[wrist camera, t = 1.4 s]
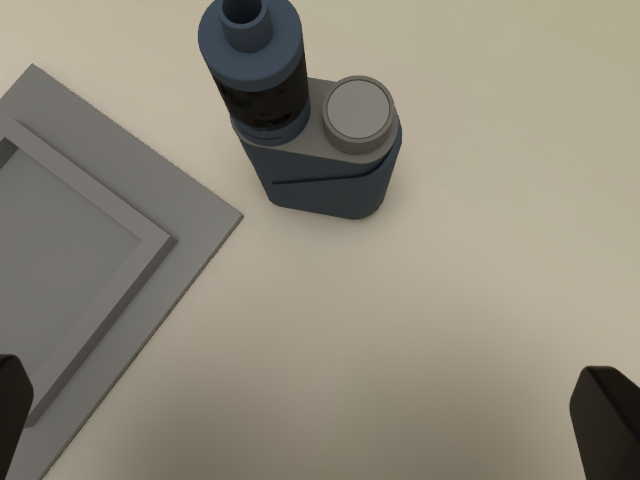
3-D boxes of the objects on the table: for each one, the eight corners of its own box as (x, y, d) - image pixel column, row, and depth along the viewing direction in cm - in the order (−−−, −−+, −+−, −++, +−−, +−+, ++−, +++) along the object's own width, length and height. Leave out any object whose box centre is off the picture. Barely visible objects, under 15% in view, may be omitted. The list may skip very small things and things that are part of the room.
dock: (24, 500, 20) (0, 513, 19) (-184, 317, 22) (-221, 315, 21) (243, 216, 22) (237, 207, 21) (37, 67, 24) (17, 49, 22)
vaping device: (269, 149, 23) (197, -58, 11) (388, 170, 22) (445, -20, 11) (257, 205, 22) (167, 52, 11) (378, 227, 22) (426, 95, 10)
